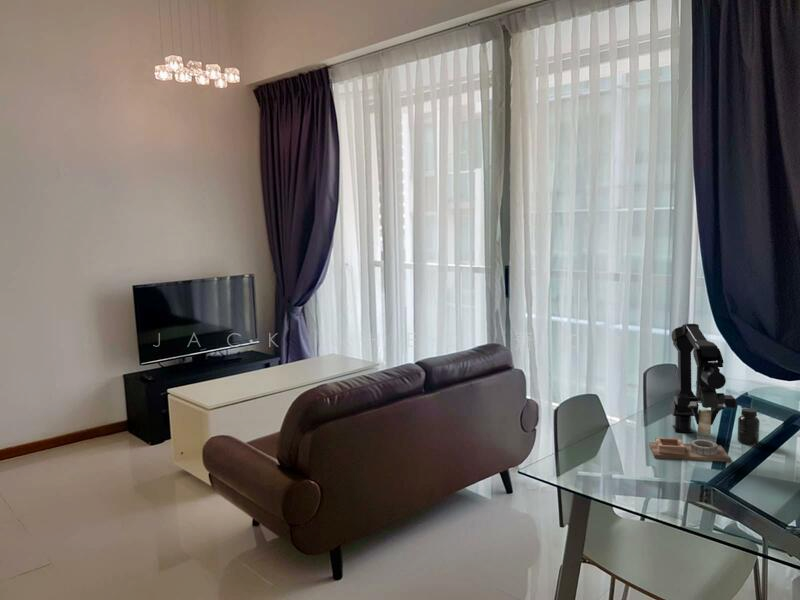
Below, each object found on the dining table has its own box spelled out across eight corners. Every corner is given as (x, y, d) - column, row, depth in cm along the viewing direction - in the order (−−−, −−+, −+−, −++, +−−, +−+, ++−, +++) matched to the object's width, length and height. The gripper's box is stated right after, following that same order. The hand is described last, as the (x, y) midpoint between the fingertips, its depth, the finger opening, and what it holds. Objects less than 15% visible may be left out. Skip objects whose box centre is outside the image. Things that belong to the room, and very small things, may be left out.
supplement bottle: (761, 445, 220) (763, 413, 218) (740, 445, 221) (742, 412, 220) (754, 438, 227) (756, 407, 225) (734, 438, 228) (735, 406, 226)
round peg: (696, 430, 216) (697, 408, 215) (708, 431, 215) (709, 409, 214) (699, 434, 212) (699, 412, 211) (711, 435, 211) (712, 412, 210)
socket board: (648, 445, 225) (649, 435, 224) (720, 448, 219) (721, 438, 218) (654, 458, 213) (654, 447, 212) (730, 461, 207) (730, 451, 207)
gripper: (681, 386, 206) (680, 431, 208) (742, 388, 201) (741, 433, 203) (674, 377, 216) (673, 420, 219) (732, 379, 212) (731, 422, 214)
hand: (704, 424), depth 213 cm, fingers closed on round peg, 4 cm apart
